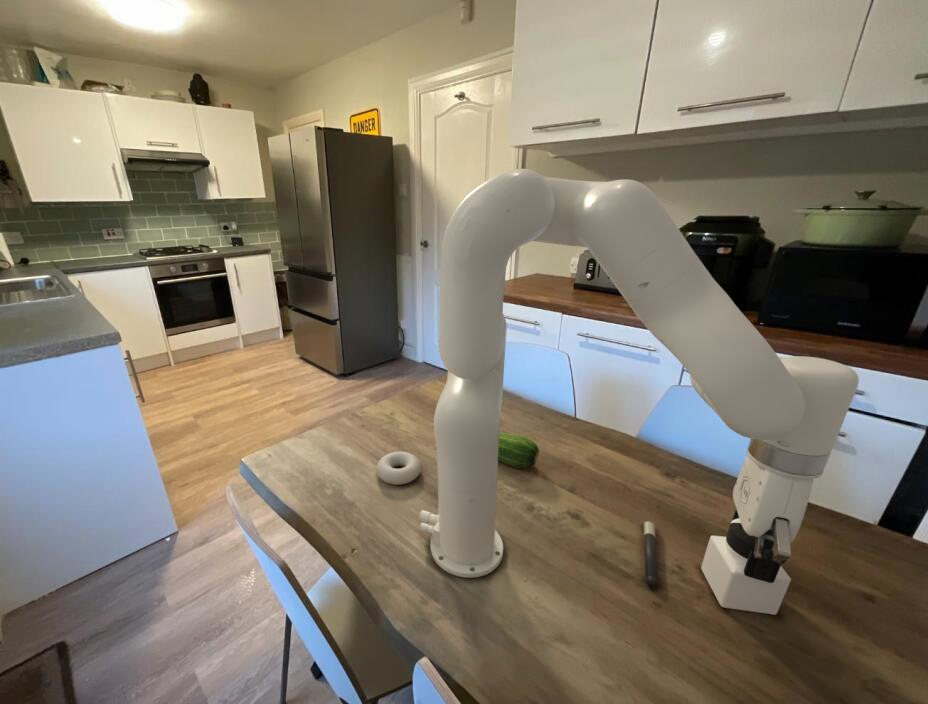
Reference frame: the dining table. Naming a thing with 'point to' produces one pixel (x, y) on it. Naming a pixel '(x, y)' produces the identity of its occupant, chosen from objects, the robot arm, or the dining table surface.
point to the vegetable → (517, 451)
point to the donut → (398, 475)
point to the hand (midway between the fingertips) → (749, 553)
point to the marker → (650, 554)
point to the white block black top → (741, 573)
